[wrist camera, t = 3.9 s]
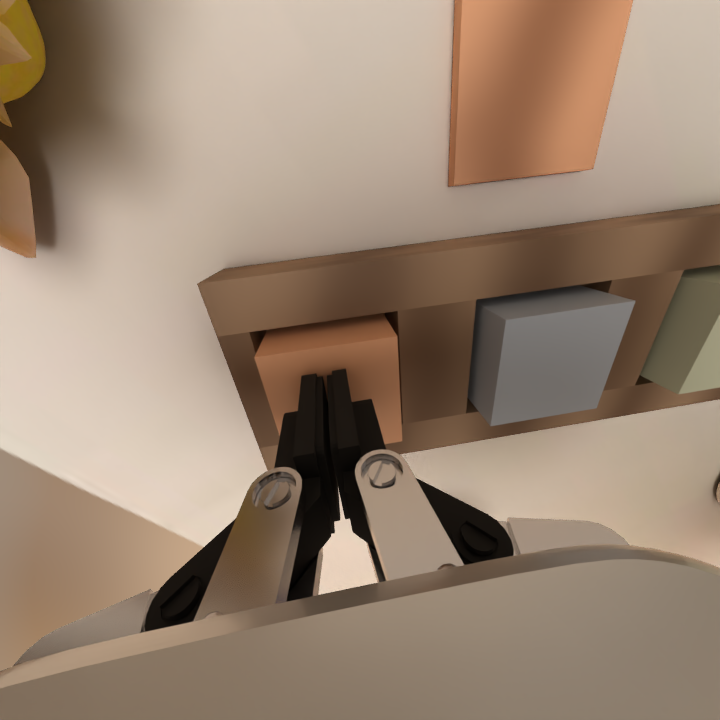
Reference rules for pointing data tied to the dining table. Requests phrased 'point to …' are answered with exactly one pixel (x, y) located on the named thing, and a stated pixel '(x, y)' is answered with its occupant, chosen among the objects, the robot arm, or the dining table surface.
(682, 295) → the sage button
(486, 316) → the slate button
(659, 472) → the dining table surface
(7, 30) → the decorative flower
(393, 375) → the terracotta button
